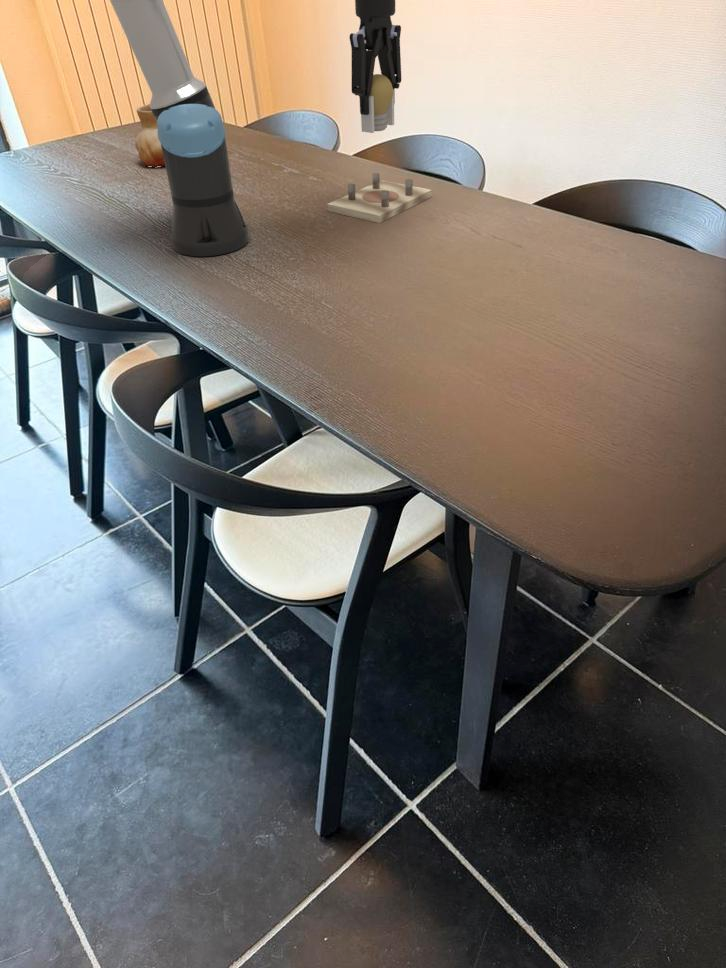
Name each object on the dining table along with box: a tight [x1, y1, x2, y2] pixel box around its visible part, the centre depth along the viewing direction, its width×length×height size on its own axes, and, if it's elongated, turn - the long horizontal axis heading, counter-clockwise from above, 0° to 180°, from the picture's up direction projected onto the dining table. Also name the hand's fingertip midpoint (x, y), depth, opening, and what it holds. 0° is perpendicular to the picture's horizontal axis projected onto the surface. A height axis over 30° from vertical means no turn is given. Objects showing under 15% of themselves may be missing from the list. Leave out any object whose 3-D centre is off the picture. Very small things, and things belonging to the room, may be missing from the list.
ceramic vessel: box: [134, 103, 165, 167], centre depth 179 cm, size 14×26×15 cm, turn 148°
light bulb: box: [365, 73, 393, 132], centre depth 136 cm, size 6×6×10 cm
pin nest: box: [326, 172, 433, 224], centre depth 147 cm, size 20×14×4 cm
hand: (378, 127), depth 139 cm, fingers closed on light bulb, 6 cm apart
